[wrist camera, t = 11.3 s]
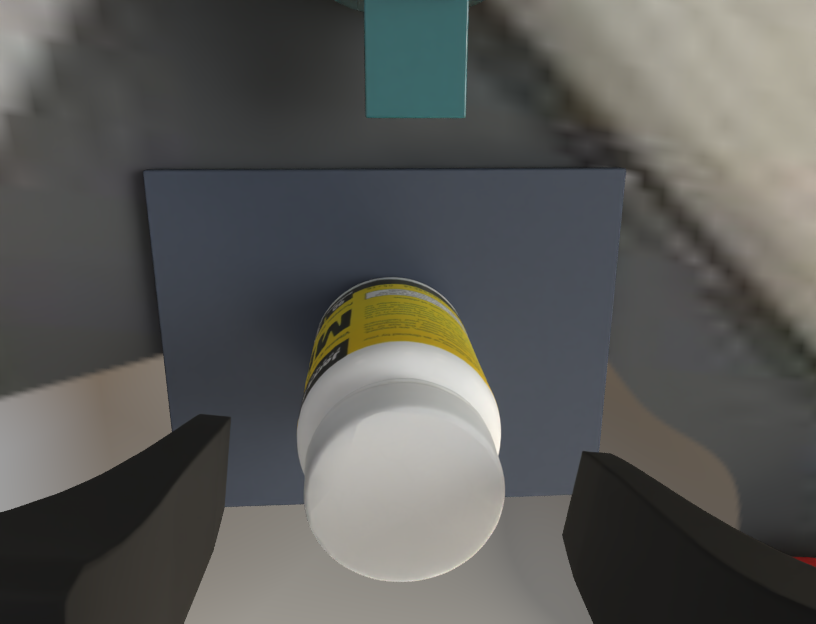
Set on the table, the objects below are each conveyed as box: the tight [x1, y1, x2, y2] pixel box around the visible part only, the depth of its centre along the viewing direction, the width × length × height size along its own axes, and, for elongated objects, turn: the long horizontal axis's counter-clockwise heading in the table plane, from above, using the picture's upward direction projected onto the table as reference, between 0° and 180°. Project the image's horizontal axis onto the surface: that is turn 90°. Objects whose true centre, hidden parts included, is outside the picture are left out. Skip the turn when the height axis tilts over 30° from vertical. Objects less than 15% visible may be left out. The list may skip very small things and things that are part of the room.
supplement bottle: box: [297, 277, 505, 582], centre depth 17 cm, size 5×5×8 cm
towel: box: [143, 168, 626, 507], centre depth 21 cm, size 14×11×1 cm
